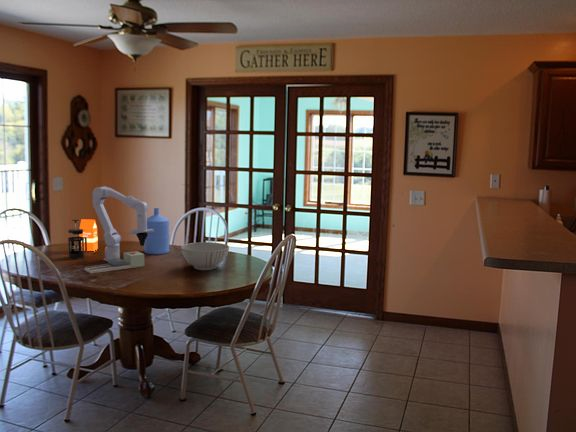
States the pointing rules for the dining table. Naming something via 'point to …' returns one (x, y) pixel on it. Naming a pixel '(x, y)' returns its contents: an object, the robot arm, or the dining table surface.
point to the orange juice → (89, 234)
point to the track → (129, 262)
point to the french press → (73, 253)
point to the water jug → (157, 234)
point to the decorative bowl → (205, 254)
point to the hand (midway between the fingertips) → (142, 245)
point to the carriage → (116, 259)
